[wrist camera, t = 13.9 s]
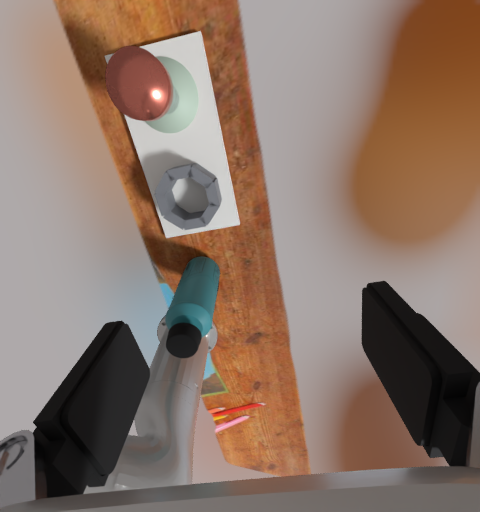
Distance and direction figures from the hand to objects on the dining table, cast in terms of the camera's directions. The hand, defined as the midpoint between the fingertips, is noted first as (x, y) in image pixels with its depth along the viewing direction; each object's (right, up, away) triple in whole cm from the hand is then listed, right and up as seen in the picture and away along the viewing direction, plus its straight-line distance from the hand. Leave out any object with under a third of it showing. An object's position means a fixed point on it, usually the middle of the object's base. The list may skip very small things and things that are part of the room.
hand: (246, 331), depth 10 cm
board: (-9, +19, +29) cm, 36 cm away
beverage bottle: (-7, +1, +38) cm, 38 cm away
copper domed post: (-11, +25, +25) cm, 37 cm away
